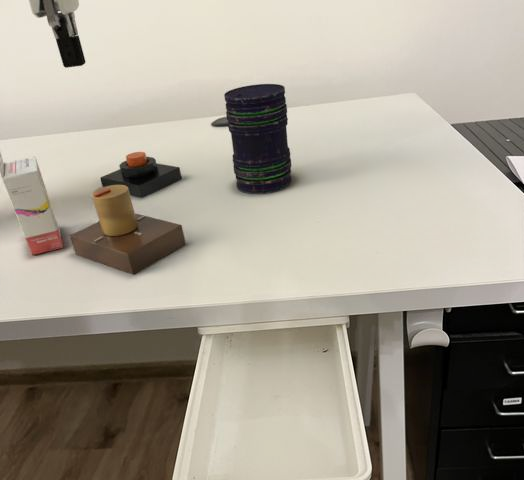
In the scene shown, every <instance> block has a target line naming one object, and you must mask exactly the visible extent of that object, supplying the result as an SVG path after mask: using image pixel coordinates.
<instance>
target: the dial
mask: <svg viewBox="0 0 524 480" xmlns="http://www.w3.org/2000/svg"><path fill="white" fill-rule="evenodd" d="M91 198H92V201H93V204H94V208H95V211H96V214H97V217H98V222H99V221H100V225H101V228H102V231H103V233H104V234H105V235H108V236H119V235H124V234H127V233H130V232H132V231H134V230H135V229H136V228H137V226H138V224H137V220H136V216H135V213H136V212H135V209H134V204H133V201H132V195H130V193H129V189H128V187H127V186H125V185H110V186H106V187H103V186H102V187H99V188H97V189H96V190H94V191H93V192H92V193H91Z"/></svg>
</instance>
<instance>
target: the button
mask: <svg viewBox="0 0 524 480" xmlns="http://www.w3.org/2000/svg"><path fill="white" fill-rule="evenodd" d="M146 157H147V154H146V152H145V151H136V152H131V153H128V154H126V156H125V161H126V160H127V164H128V166H130V167H133V166H140V165H144V164H146V163H148V162H147V158H146Z"/></svg>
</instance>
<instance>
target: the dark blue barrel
mask: <svg viewBox="0 0 524 480" xmlns="http://www.w3.org/2000/svg"><path fill="white" fill-rule="evenodd" d="M285 94H286V88H285V86H284V85H282V84H277V83H259V84H258V83H257V84H251V85H245V86H240V87H239V86H238V87H235V88H233V89H230V90H228V91H226V92H225V93H224V94H223V96H224V101H225V110H226V111H225V114H226V120H227V128H228V132H230V137H231V144H232V150H233V151H232V152H233V154H232V164H233V173H234V175H235V179H236V188H237V190H238V191H240V192H242V193H245V194H248V195H249V194H250V195H263V194H271V193H276V192H279V191H282V190H284V189H286V188H288V187H290V185H291V184H292V182H293V177H292V175H291V174H292V158H291V149H290V147H289V144H288V132H287V127H288V124H289V123H288V120H289V118H288V114H287V113H288V105H287V103H286V102H287V99H286V96H285Z"/></svg>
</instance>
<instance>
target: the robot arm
mask: <svg viewBox="0 0 524 480" xmlns="http://www.w3.org/2000/svg"><path fill="white" fill-rule="evenodd" d="M28 2H29V6H30V10H31V12H32V15H34V17H36V18H37V19H39V18H40V19H41V18H44V17H46V20H47V24H48V26H49V27H51V30H52V33H53V35H54V38H55V41H56V45H57V48H58V51H59V55H60V60H61V62H62V66H63V68H66V69H67V68H75V67H82V66H83V65H85V64H86V58H85V54H84V51H83V46H82V43H81V39H80V35H79V32H78V27H77V23H76V15H75V12H76V11H77V10H78V8H79V6H80V2H79V0H28Z"/></svg>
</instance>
